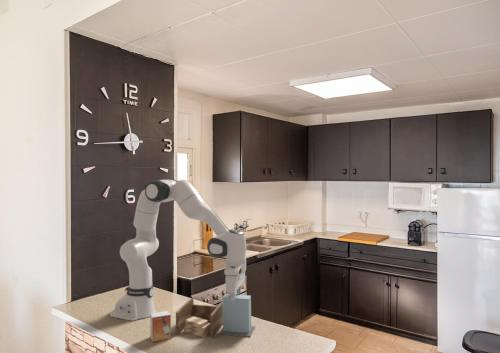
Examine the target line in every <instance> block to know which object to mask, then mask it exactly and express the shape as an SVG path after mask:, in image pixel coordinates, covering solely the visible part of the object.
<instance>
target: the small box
mask: <svg viewBox="0 0 500 353" xmlns="http://www.w3.org/2000/svg"><path fill="white" fill-rule="evenodd" d="M171 317H172V316H171V313H170V310H164V311H163V310H162V311H158V312H157V311H156V313H150V317H149V319H150V320H149V321H150V325H149V326H150V327H149V328H150V329H149V330H150V333H149V334H150V339H151V342H152V343H154V342H158V341H164V340H170V339H171V338H172V334H171V333H172V332H171V330H172V326H171V325H172V323H171V320H172V319H171Z"/></svg>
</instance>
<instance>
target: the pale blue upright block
mask: <svg viewBox="0 0 500 353" xmlns="http://www.w3.org/2000/svg"><path fill="white" fill-rule="evenodd" d="M235 296H236V300H235V301H231V295H230V293H225V294H224V295H223V296H222V297H221V299H222V300H223V325H222V328H223V331H232V332H244V333H249V332H250V330H251V326H252V301H251V300H252V295H248V294H247V295H246V294H235Z"/></svg>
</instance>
